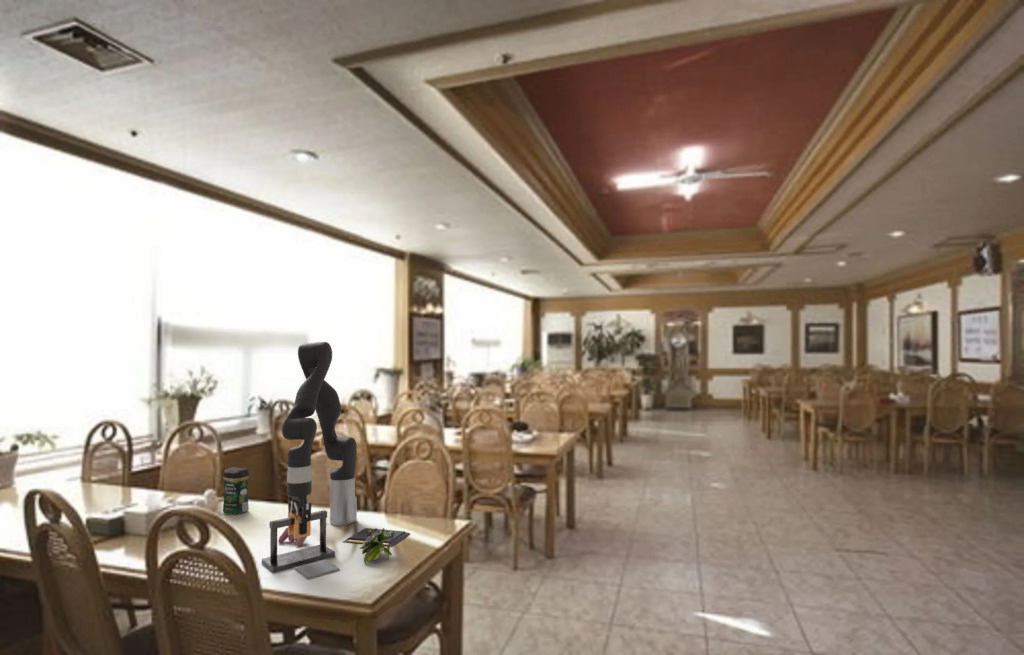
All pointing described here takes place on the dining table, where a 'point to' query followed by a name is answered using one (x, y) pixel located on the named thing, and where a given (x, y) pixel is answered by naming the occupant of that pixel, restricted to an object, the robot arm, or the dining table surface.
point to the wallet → (361, 535)
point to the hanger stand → (298, 556)
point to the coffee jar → (235, 490)
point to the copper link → (297, 526)
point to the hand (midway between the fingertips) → (299, 531)
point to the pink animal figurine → (291, 538)
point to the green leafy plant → (376, 544)
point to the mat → (317, 569)
